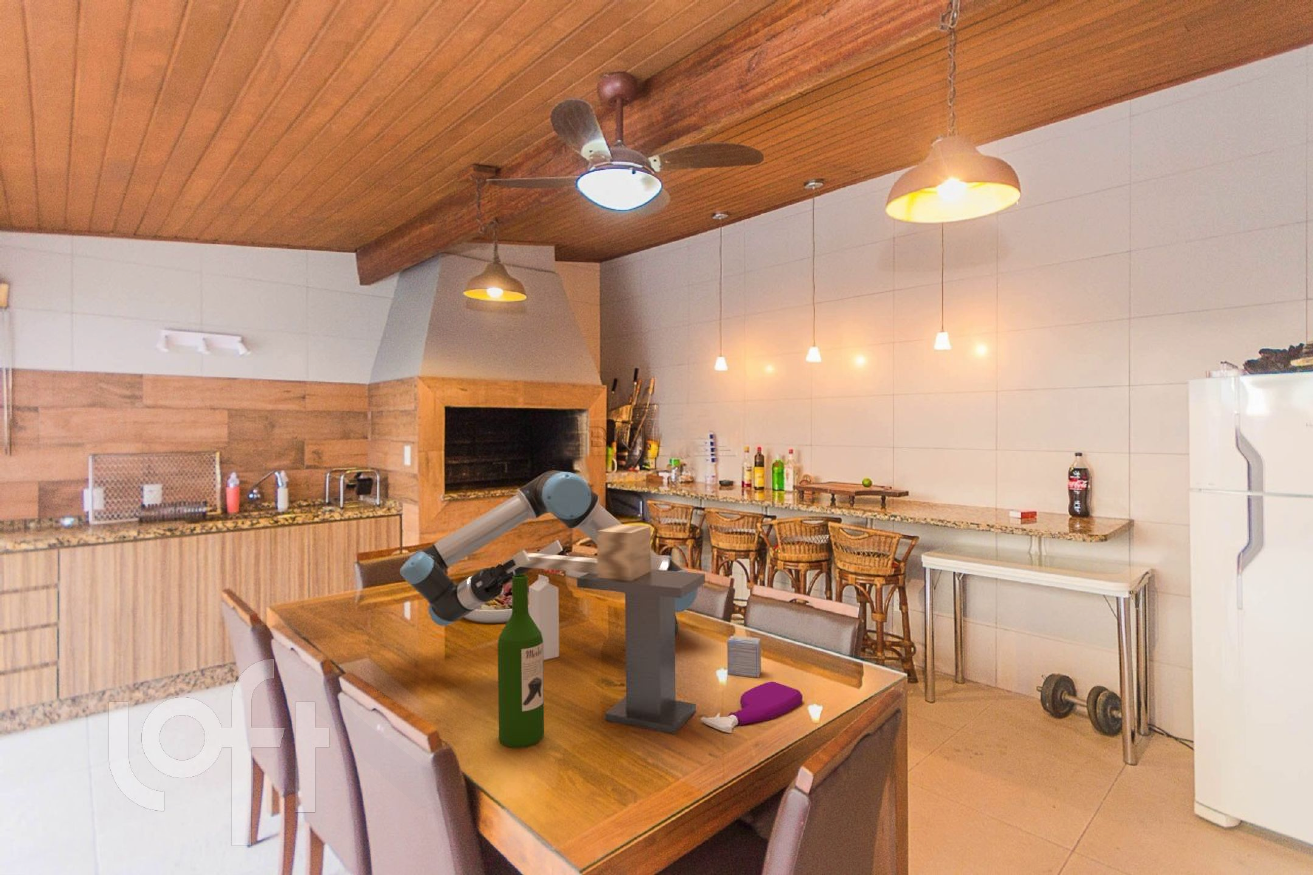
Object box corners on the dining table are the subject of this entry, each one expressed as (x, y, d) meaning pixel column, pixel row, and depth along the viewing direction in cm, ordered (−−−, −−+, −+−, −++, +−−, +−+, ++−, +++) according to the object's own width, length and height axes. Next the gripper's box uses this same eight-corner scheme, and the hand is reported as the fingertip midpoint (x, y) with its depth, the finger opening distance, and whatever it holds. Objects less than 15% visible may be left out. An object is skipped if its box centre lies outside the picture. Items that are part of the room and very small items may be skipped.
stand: (578, 717, 139) (576, 577, 139) (609, 693, 152) (608, 565, 152) (682, 738, 129) (680, 588, 129) (706, 710, 142) (704, 573, 142)
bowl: (538, 625, 206) (538, 601, 206) (444, 626, 206) (444, 601, 206) (554, 601, 236) (553, 579, 236) (471, 601, 236) (471, 580, 236)
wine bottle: (522, 752, 124) (520, 583, 124) (489, 740, 129) (487, 577, 129) (553, 733, 132) (551, 574, 132) (520, 723, 137) (519, 569, 136)
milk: (539, 661, 173) (538, 579, 173) (529, 655, 178) (528, 575, 178) (559, 656, 177) (558, 576, 177) (549, 650, 182) (548, 572, 182)
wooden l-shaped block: (506, 568, 149) (505, 525, 149) (531, 560, 158) (531, 519, 158) (630, 580, 136) (630, 533, 136) (650, 571, 145) (650, 526, 145)
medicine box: (761, 672, 165) (761, 637, 164) (758, 678, 160) (758, 643, 160) (730, 668, 167) (730, 635, 167) (727, 674, 163) (726, 640, 163)
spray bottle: (807, 705, 146) (735, 743, 129) (768, 690, 154) (695, 724, 137) (806, 692, 145) (735, 728, 129) (767, 678, 154) (695, 711, 137)
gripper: (518, 590, 169) (578, 554, 161) (451, 615, 146) (518, 575, 139) (506, 564, 171) (565, 528, 163) (438, 585, 148) (503, 544, 140)
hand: (543, 549), depth 151 cm, fingers open, 13 cm apart
